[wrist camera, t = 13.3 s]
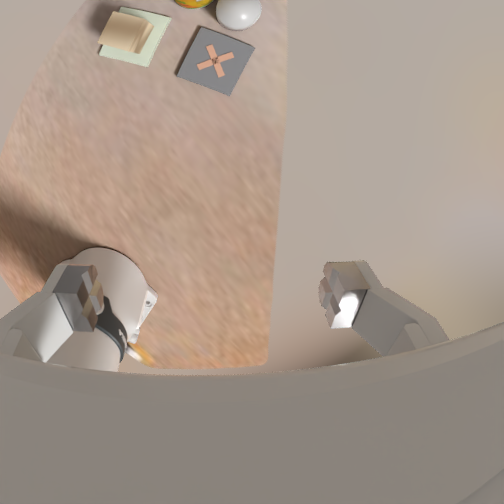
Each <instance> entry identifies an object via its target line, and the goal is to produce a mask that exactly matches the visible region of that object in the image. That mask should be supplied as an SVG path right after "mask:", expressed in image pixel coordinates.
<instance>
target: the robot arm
mask: <svg viewBox="0 0 504 504" xmlns="http://www.w3.org/2000/svg"><path fill="white" fill-rule="evenodd" d="M323 272H324V275H325V277H324V278H323V279H322V280H321V281H320V286H319V299H320V303H321V306H322V307H324V308H325V309H326V310H327V311H326V314H325V316H326V318H327V321H328V323H329V326H330V328H331V329H333V328H344V327H352V329H353V330H354V331H356V332H357V333H358V334H359V335H360V336H361V337H362V338H363V339H365V340H366V341H367V342H368V343H369V344H370V345H371V346H372V347H373V348H375V350H377V351H378V352H379V353H380V354H381V355H382V356H383V357H380V358H374V359H369V360H363V361H358V362H352V363H346V364H339V365H333V366H326V367H318V368H310V369H302V370H294V371H282V372H271V373H257V374H240V375H239V374H238V375H198V376H197V375H195V376H194V375H155V374H136V373H123V372H118V367H119V363H120V362H121V361H122V359H123V356H124V354H125V351H126V347H127V346H126V345H127V342H131V343H133V344H134V343H136V341H137V338H138V334H139V331H140V326H141V324H142V322H143V321H144V319H145V318H146V316H147V315H148V313H149V312H150V310H151V309H152V307H153V306H154V304H155V303H156V301H157V298H158V295H157V293H156V292H155V291H154V290H153V289H152V288H151V287H150V286H149V285H148V284H147V283H146V281H145V278H144V276H143V274H142V273H141V271H140V270H139V268H138V267H137V266H136V265H135V264H134V263H133V262H132V261H131V260H130V259H128V258H127V257H126V256H124V255H122V254H120V253H118V252H116V251H114V250H110V249H106V248H89V249H86V250H84V251H82V252H80V253H79V254H78V255H76V256H75V257H74V258H73V259H70V260H65V261H62V262H61V263H60V264H58V265H56V267H55V268H54V270H53V272H52V273H51V275H50V277H49V278H48V280H47V282H46V283H45V285H44V287H43V289H42V290H41V292H37V293H35V294H34V295H32V296H31V297H30V298H28V299H27V300H25V301H24V302H23V303H21V304H20V305H19V306H17V307H16V308H15V309H13V310H12V311H11V312H9V313H8V314H7V315H5V316H4V317H3V318H1V319H0V504H504V322H502V323H500V324H497V325H494V326H492V327H489V328H486V329H484V330H480V331H477V332H475V333H472V334H468V335H465V336H462V337H459V338H456V339H452V340H449V338H448V337H447V335H446V334H445V332H444V330H443V329H442V327H441V326H440V324H439V322H438V321H437V319H436V318H435V317H433V316H432V315H430V314H429V313H427V312H425V311H424V310H422V309H421V308H419V307H417V306H416V305H414V304H413V303H411V302H409V301H408V300H406V299H405V298H403V297H401V296H400V295H398V294H397V293H395V292H393V291H391V290H390V289H388V288H384V287H383V286H382V284H381V283H380V281H379V280H378V279H377V277H376V275H375V274H374V272H373V271H372V269H371V268H370V266H369V265H368V263H367V262H366V261H364V260H362V261H351V262H327V263H326V264H325V266H324V270H323ZM148 301H149V302H148Z"/></svg>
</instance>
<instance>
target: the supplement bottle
mask: <svg viewBox="0 0 504 504" xmlns="http://www.w3.org/2000/svg"><path fill="white" fill-rule="evenodd" d="M213 1H214V0H175V2H176V3H177V4H178V5H180V6H181V7H183V8H186V9H199V8H203V7H205V6H207V5H209V4H210V3H212V2H213Z"/></svg>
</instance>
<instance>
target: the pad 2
mask: <svg viewBox="0 0 504 504" xmlns="http://www.w3.org/2000/svg"><path fill="white" fill-rule="evenodd" d="M254 49H255V48H254V47H252V46H250V45H247V44H245V43H242V42H240V41H238V40H235V39H233V38H230V37H228V36H225V35H222V34H220V33H217V32H214V31H211V30H208V29H206V28H203V27H201V29H200V30H199V32H198V34H197V36H196V38H195V40H194V42H193V44H192V46H191V47H190V49H189V51H188V53H187V55H186V57H185V59H184V62H183V64H182V66H181V68H180V70H179V72H178V74H177V77H180V78H183V79H186V80H189V81H191V82H194V83H197V84H200V85H203V86H205V87H208V88H210V89H213V90H216V91H218V92H221V93H223V94H226V95H228V96H230V94H231V92H232V91H233V89H234V87H235V85H236V83H237V81H238V79H239V77H240V75H241V73H242V71H243V69H244V67H245V65H246V64H247V62H248V60H249V58H250V56H251V54H252V53H253V51H254Z"/></svg>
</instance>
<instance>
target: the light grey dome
mask: <svg viewBox="0 0 504 504" xmlns="http://www.w3.org/2000/svg"><path fill="white" fill-rule="evenodd" d="M261 10H262V9H261V4H260V2H259V0H219V1H218V3H217V6H216V17H217V20H218V22H219V23H220V25H221V26H223V27H224V28H226V29H228V30H231V31H243V30H246V29H248V28H250V27H251V26H253V25H254V23H255V22H256V21H257V19H258V18H259V17H260V14H261Z"/></svg>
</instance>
